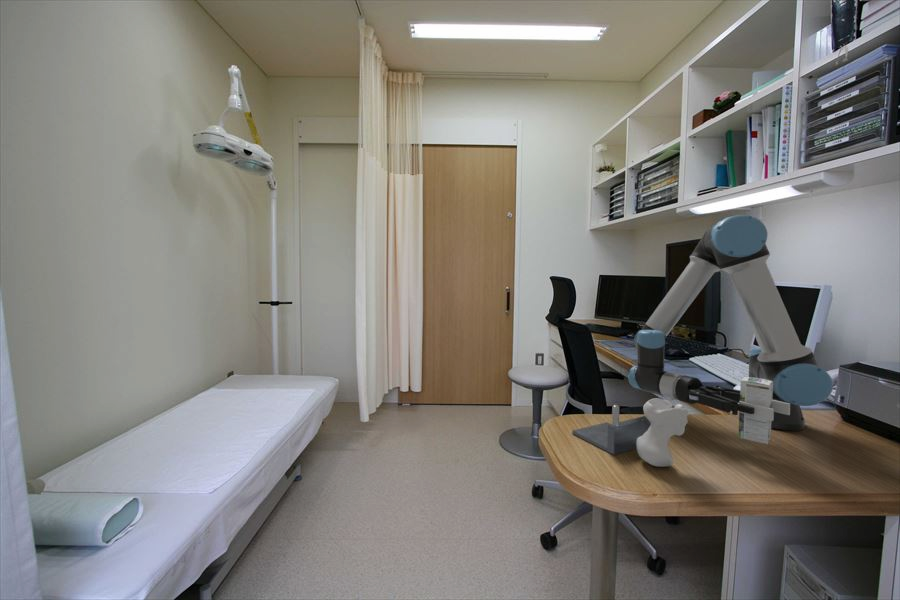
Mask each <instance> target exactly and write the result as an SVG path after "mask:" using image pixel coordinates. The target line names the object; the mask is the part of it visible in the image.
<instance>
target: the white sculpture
mask: <svg viewBox="0 0 900 600" xmlns="http://www.w3.org/2000/svg"><path fill="white" fill-rule="evenodd" d="M673 405H674V404H673V402H671V400H667V399H661V398H659V397H658V398H657V397H655V398H651V399H649V400H648V401H647V400H646V402H645V403H644V405H643V407H642V409H643V414H644V416H646V418H647V419H648V420H649V421H650V423H651V425H650V427H649V429H648V430H647V431H646V432H645V433H644V434H643V435H642V436H640V437H638V438H637V441H636V445H637V448H636V451H637V454H638V456H639V457H640V458H641V459H642V460H643V461H645V462H646V463H647V464H649V465H651V466H653V467H663V468H664V467H671V466H672V465H673V464H674V457H673V454H672V453H671V450H670V448H669V441H670V439H671V437H673V436H682V435H683V434H684V433H685V430H686V425H687V424H688V421H689V420H688V415H689V411H688V409H686V408H685V406H684V405H683V404H680V403H677V404H675V406H674V407H673Z"/></svg>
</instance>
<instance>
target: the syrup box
mask: <svg viewBox="0 0 900 600" xmlns="http://www.w3.org/2000/svg"><path fill="white" fill-rule="evenodd" d="M739 387H740V388H739V389H740V401H743V402H747V403H751V404H755V405H759V406H764V407H768V408H772V396H773V382H772V381H770V380H766V379H761V378H753V377H749V376H744V377H743V378H742V380H741V381H740V385H739ZM738 415H739V417H738V433H737V434H738V438H739V439H742V440H747V441H751V442H756V443H761V444H764V445H769V444H770V440H771V436H772V428H771V421H769V420H766V419H762V418H758V417H755V416H751V415H747V414H743V413H740V412H739V411H738Z"/></svg>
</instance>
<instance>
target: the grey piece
mask: <svg viewBox="0 0 900 600" xmlns="http://www.w3.org/2000/svg"><path fill="white" fill-rule="evenodd" d="M611 409H612V411H611V423H610V422H608V421H607V422H602V423H599V424H595V425H590V426H586V427H581V428H578V429H573V430H572V433H571V434H572V435H574V436H576V437H578V438H580V439H581V440H583V441H585V442H587V443H589V444H592V445H593V446H595V447H597V448H599V449H601V450H603V451H605V452H607V453H609V454H611V455H612V456H617V455H620V454H623V453H627V452H630V451H632V450H637V445H636V441H637V438H638V437H640V436H642V435H643V434H644V433H645V432H646V431H647V430H648V429H649V427H650V425H651V423H650V421H649V420H648V419H647V418H646V416H645V415H644V416H639V417H635V418H631V419H626V420H622V421H620V405H618V404H613V405H612V408H611Z"/></svg>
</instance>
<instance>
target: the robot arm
mask: <svg viewBox="0 0 900 600" xmlns="http://www.w3.org/2000/svg"><path fill="white" fill-rule="evenodd" d="M767 240H768V230H767V228H766V226H765V224H764V223H763V221H761V220H760V219H758V218H757V217H754V216H752V215H748V214H736V215H732V216H728V217H725V218H723V219H721V220H719V221H718V222H716V223H715V224H712V225H711V226H710V227H708V228H707V229H706V231H705V232H704V233H703V235H702V236H701V238H700V240H699V242H698V243H697V245H696V246H695V248H694V250H693V251H692V253H691V254H690V255H689V263H688V264H687V265H686V267H685V268H684V270H683V271H682V272H681V274H680V275H679V277H678V278H677V279H676V281H675V282H674V284H673V285H672V287H670V289H669V291H668V292H667V293H666V295H665V296H664V298H663V299H662V301H660V303H659V304H658V306H657V307H656V308H655V310H654V311H653V313H652V314H651V315H650V316H649V318H648V319H647V321H646V323H645V324H644V325H643V326H642V328H641V329H640V330H638V332H636V334H635V335H634V339H633V344H634V346H635V349H636V350H637V351H636V355H637V359H636V360H637V364H636V365H633V366H632V367H631V368H630V369H629V373H628V375H627V377H628V378H627V379H628V382H629V384H630V385H631V386H632V387H633V388H634V389H637V390H641V391H642V392H645V393H646V392H647V393H651V394H655V395H658V396H662V397H666V398H669V400H670V401H673V400H677V401H679V402H683V403H687V404H690V405H695V404H699V405H702V406H706V407H708V408H712V409H715V410H718V411H721V412H725V413H727V414H728V413H732V414H731V415H733V416H738V415H739V412H740V413H743V414H747V415H751V416H755V417H758V418H762V419H766V420H769V421H771V429H774V428H775V429H774V430H780V429H781V431H789V430H791V431H792V432H793V431H795V432H796V431H798V432H799V431H803V430H805V426H806V420H805V417H804V415H803V411H802V409H801V407H802V406H803V407H810V406H815V405H818V404H820V403H823V402H824V401H826V400H827V399H828V398H829V396H830V395H831V394H832V392H833V389H834V382H833V378H832V377H831V375H830V374H829V373H828V372H827V371H826V369H825V368H822V367H821V366H819V365H818V361H817V359H816V357H815V355H814V353H813V350H812V348H810V347H808V346H805V345H803V344H801V341H800V339H799V336H798V334H797V332H796V330H795V329H796V328H795V327H794V324H793V323H792V321H791V318H790V315H789V313H788V311H787V308H786V306H785V304H784V302H783V301H784V300H782V297H781V294H780V292H779V290H778V288H777V284H776V283H775V281H774V278H773V277H772V274H771V271H770V269H769V267H768V264H767V260H768V259H769V257H770V256H771V254H770V251H769V249H768V246H767ZM721 271H722V272H725V273H727V274H728V275H729V278H730V280H731V282H732V284H733V287H734V289H735V293H736V294H737V297H738V299H739V302H740V303H741V307H742V308H743V311H744V313H745V316H746V318H747V321H748V323H749V325H750V328H751V330H752V333H753V335H754V337H755V340H756V342H757V344H758V346H759V347H752V348H751V349H750V350H749V355H748V377H753V378H761V379H766V380H770V381H772V382H773V396H772V408H768V407H764V406H759V405H755V404H751V403H747V402H743V401H740V390H738V389H733V388H731V387H730V388H729V387H725V386H722V385H721V386H720V385H715V386H713V385H707V384H706V385H705V386H704V385H703V383H702V381H701V380H700V379H699V378H697V377H694V376H690V375H685V374H681V373H677V372H671V371H666V370H665V345H666V340H665V339H666V338H667V336H668V335H669V334H670V332H671V331H672V330H673V328H675V326H676V324H677V323H678V322H679V320H680V319H681V318H682V317H683V315H685V314H684V313H686V311H687V310H688V308H689V307H690V306H691V305H692V303H693V302H694V300H695V299H696V298H697V297H698V295H699V294H700V292H701V291H702V290H703V289H704V287H705V286H706V284H708V282H709V280H711V278H712V276H713V275H714V274H715V273H719V272H721Z"/></svg>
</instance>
